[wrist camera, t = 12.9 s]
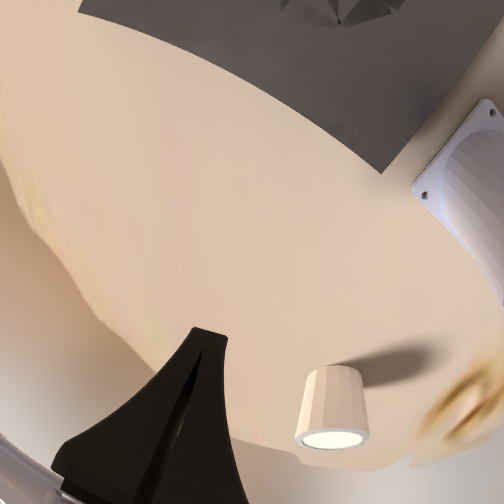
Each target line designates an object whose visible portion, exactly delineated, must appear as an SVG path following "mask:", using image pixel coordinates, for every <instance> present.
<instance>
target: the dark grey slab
mask: <svg viewBox="0 0 504 504" xmlns="http://www.w3.org/2000/svg"><path fill="white" fill-rule="evenodd" d="M78 12H79V13H83V14H87V15H90V16H94V17H97V18H101V19H104V20H107V21H110V22H114V23H117V24H120V25H123V26H125V27H128V28H131V29H134V30H137V31H139V32H142V33H145V34H147V35H150V36H153V37H155V38H158V39H160V40H162V41H165V42H167V43H170V44H172V45H174V46H177V47H179V48H181V49H183V50H186V51H188V52H190V53H192V54H194V55H197V56H199V57H201V58H203V59H205V60H207V61H209V62H211V63H213V64H215V65H217V66H219V67H221V68H223V69H225V70H227V71H229V72H230V73H232V74H234V75H236V76H238V77H240V78H242V79H243V80H245V81H247V82H249V83H251V84H252V85H254V86H256V87H258V88H259V89H261V90H263V91H264V92H266V93H268V94H269V95H271V96H273V97H274V98H276V99H278V100H279V101H281V102H282V103H284V104H286V105H287V106H289V107H290V108H292V109H293V110H295V111H297V112H298V113H300V114H301V115H303V116H304V117H306V118H307V119H309V120H310V121H312V122H313V123H314V124H316V125H317V126H319V127H320V128H322V129H323V130H325V131H326V132H327V133H329V134H330V135H332V136H333V137H334V138H336V139H337V140H338V141H340V142H341V143H342V144H344V145H345V146H346V147H348V148H349V149H350V150H352V151H353V152H354V153H356V154H357V155H358V156H359V157H361V158H362V159H363V160H364V161H366V162H367V163H368V164H369V165H371V166H372V167H373V168H374V169H376V170H377V171H378V172H379V173H380V174H382V173H383V172H384V170H385V169H386V168H387V167H388V166H389V164H390V163H391V162H392V161H393V160H394V159H395V157H396V156H397V155H398V154H399V153H400V151H401V150H402V149H403V148H404V147H405V145H406V144H407V143H408V142H409V141H410V139H411V138H412V137H413V136H414V134H415V133H416V132H417V131H418V129H419V128H420V127H421V126H422V125H423V123H424V122H425V121H426V120H427V118H428V117H429V116H430V115H431V113H432V112H433V111H434V110H435V108H436V107H437V106H438V104H439V103H440V102H441V101H442V99H443V98H444V97H445V95H446V94H447V93H448V92H449V90H450V89H451V88H452V86H453V85H454V84H455V82H456V81H457V80H458V78H459V77H460V76H461V74H462V73H463V72H464V70H465V69H466V68H467V66H468V65H469V64H470V62H471V61H472V60H473V58H474V57H475V56H476V54H477V53H478V51H479V50H480V49H481V47H482V46H483V44H484V43H485V42H486V40H487V39H488V37H489V36H490V34H491V33H492V32H493V30H494V29H495V27H496V26H497V24H498V23H499V21H500V20H501V18H502V17H503V15H504V0H83V1H82V3H81V5H80V7H79V10H78Z"/></svg>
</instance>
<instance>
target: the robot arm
mask: <svg viewBox="0 0 504 504" xmlns="http://www.w3.org/2000/svg"><path fill="white" fill-rule="evenodd" d="M491 109H492V111H493V114H492V116H490V110H491ZM411 192H412V194H413V195H414V196H415V197H416V198H417V199H418V200H419V201H420V202H421V203H422V204H423V205H424V206H425V207H426V208H427V209H428V210H429V211H430V212H431V213H432V214H433V215H434V216H435V217H436V218H437V219H438V220H439V221H440V222H441V223H442V224H443V225H444V226H445V227H446V228H447V229H448V230H449V231H450V232H451V233H452V234H453V236H454V237H455V238H456V239H457V240H458V241H459V242H460V243H461V244H462V245H463V247H464V248H465V249H466V250H467V251H468V252H469V253H470V254H471V256H472V257H473V258H474V260H475V261H476V263H477V265H478V266H479V268H480V270H481V271H482V273H483V275H484V277H485V278H486V280H487V282H488V284H489V285H490V287H491V289H492V291H493V293H494V295H495V296H496V298H497V300H498V302H499V304H500V306H501V308H502V310H503V312H504V117H503V116H502V114H501V113H500V112H499V110H498V109H497V108H496V106H495V105H494V104H493V102H492V101H491V100H490V99H487V98H482V99H481V100H480V101H479V102H478V104H477V105H476V106H475V108H474V109H473V110H472V112H471V113H470V114H469V116H468V117H467V118H466V119H465V121H464V122H463V123H462V125H461V126H460V127H459V128H458V130H457V131H456V132H455V133H454V135H453V136H452V137H451V138H450V140H449V141H448V142H447V143H446V144H445V146H444V147H443V148H442V149H441V151H440V152H439V153H438V154H437V155H436V157H435V158H434V159H433V160H432V161H431V162H430V164H429V165H428V166H427V167H426V168H425V169H424V171H423V172H422V173H421V174H420V175H419V176H418V178H417V179H416V180H415V181H414V182H413V183H412V185H411ZM423 192H427V194H426V196H424V197H421V195H422V193H423ZM227 341H228V338H227V336H225V335H222V334H218V333H215V332H211V331H207V330H204V329H201V328H197V327H194V328H192V329H191V331H190V333H189V334H188V336H187V337H186V339H185V340H184V342H183V343H182V344H181V346H180V347H179V348H178V350H177V351H176V352H175V353H174V355H173V356H172V357H171V358H170V359H169V360H168V362H167V363H166V364H165V365H164V366H163V367H162V369H161V370H160V371H159V372H158V373H157V374H156V375H155V376H154V377H153V378H152V379H151V380H150V381H149V382H148V383H147V384H146V385H145V386H144V387H143V388H142V389H141V390H140V391H139V392H138V393H137V394H135V396H133V397H132V398H131V399H130V400H128V401H127V402H126V403H125V404H124V405H122V406H121V407H120V408H119V409H117V410H116V411H115V412H113V413H112V414H111V415H109V416H108V417H106V418H105V419H103V420H102V421H100V422H99V423H97V424H96V425H94V426H93V427H91V428H90V429H88V430H86V431H84V432H83V433H81V434H79V435H77V436H75V437H74V438H71V439H70V440H68V441H66V442H65V443H64V444H63V445H62V446H61V448H60V449H59V451H58V452H57V454H56V456H55V458H54V460H53V463H52V465H51V469H52V470H53V471H54V472H56V473H57V474H59V475H60V476H62V477H64V479H63V478H61V477H60V476H58V475H56V474H55V473H53V472H51V471H50V470H48V469H47V468H45V467H44V466H42V465H41V464H39V463H38V462H36V461H35V460H33V459H32V458H30V457H29V456H28V455H26V454H25V453H23V452H22V451H21V450H19V449H18V448H17V447H15V446H14V445H13V444H11V443H10V442H9V441H8V440H7V439H6V437H4V436H3V435H2V434H1V433H0V500H1V502H3V504H80V503H81V504H249V502H248V500H247V498H246V495H245V492H244V489H243V486H242V483H241V480H240V477H239V473H238V470H237V466H236V462H235V458H234V454H233V450H232V446H231V441H230V436H229V430H228V424H227V417H226V408H225V397H224V358H225V350H226V346H227ZM182 422H183V423H182ZM181 424H182V425H181ZM180 427H181V428H180ZM179 430H180V431H179ZM178 432H179V433H178ZM177 435H178V436H177ZM62 493H63V494H65V495H66V496H68V497H70V498H72V499H74V500H75V501H77V502H75V501H73V500H71V499H68V498H66V497H63V496H62ZM78 502H79V503H78Z"/></svg>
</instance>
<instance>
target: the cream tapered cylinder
mask: <svg viewBox="0 0 504 504" xmlns="http://www.w3.org/2000/svg"><path fill="white" fill-rule="evenodd" d="M369 436H370V435H369V426H368V418H367V410H366V403H365V396H364V390H363V383H362V377H361V374H360V373H359V371H358V370H357V369H354V368H352V367H349V366H343V365H332V366H325V367H322V368H318V369H316V370H315V371H313V372H312V373H310V374H309V376H308V378H307V382H306V387H305V393H304V398H303V403H302V407H301V412H300V417H299V422H298V426H297V431H296V435H295V441H296V443H297V444H299V445H300V446H302V447H305V448H309V449H314V450H324V451H332V450H344V449H349V448H354V447H356V446H359V445H362V444H364V443H365V442H366V441H368V440H369Z"/></svg>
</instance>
